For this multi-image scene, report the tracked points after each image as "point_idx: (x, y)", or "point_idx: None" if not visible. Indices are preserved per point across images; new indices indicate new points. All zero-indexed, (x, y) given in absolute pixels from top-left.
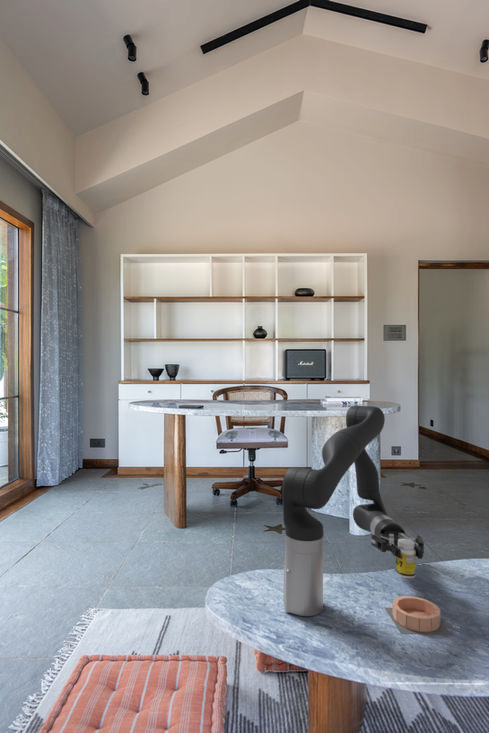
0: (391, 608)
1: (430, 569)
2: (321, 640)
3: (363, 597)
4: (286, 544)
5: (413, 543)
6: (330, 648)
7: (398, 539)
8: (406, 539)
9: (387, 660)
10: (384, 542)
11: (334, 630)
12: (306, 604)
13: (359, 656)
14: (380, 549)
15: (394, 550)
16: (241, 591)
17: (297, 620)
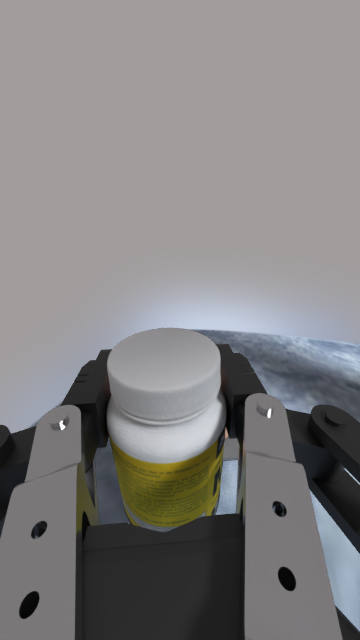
0: (236, 453)
1: None
2: (342, 360)
3: (343, 543)
4: None
5: (130, 336)
6: (321, 350)
7: (212, 367)
8: (143, 374)
9: (247, 341)
10: (324, 410)
11: (337, 379)
12: None
13: (280, 343)
14: (347, 478)
15: (242, 358)
16: None
17: None
